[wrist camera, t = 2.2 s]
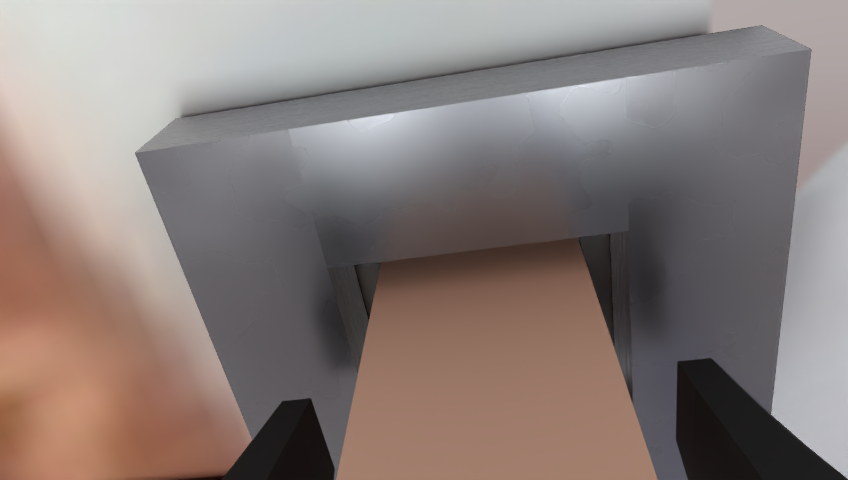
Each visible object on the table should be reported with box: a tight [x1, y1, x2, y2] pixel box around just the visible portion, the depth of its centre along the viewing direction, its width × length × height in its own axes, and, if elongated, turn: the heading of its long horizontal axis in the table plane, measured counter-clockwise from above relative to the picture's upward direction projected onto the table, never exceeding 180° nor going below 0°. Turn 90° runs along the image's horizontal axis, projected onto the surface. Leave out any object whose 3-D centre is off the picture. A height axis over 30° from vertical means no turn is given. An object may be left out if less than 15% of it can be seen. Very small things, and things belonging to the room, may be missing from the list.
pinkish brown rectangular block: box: [336, 238, 658, 480], centre depth 13 cm, size 4×4×8 cm
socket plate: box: [135, 25, 811, 480], centre depth 15 cm, size 12×12×2 cm
